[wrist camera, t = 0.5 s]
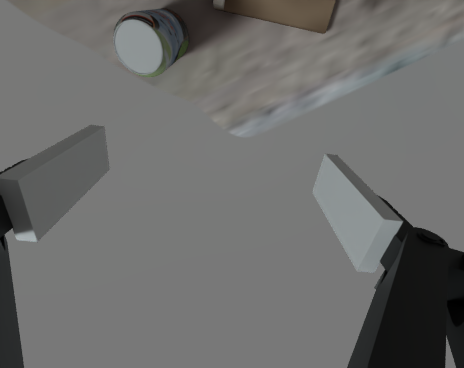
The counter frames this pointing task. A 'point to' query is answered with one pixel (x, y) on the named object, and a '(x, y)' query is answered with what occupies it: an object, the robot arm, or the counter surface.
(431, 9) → the counter surface
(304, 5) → the wall board
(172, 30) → the beverage can
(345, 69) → the counter surface
